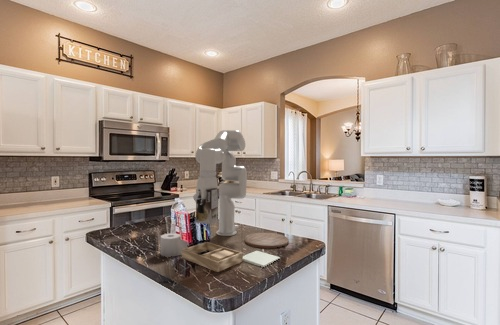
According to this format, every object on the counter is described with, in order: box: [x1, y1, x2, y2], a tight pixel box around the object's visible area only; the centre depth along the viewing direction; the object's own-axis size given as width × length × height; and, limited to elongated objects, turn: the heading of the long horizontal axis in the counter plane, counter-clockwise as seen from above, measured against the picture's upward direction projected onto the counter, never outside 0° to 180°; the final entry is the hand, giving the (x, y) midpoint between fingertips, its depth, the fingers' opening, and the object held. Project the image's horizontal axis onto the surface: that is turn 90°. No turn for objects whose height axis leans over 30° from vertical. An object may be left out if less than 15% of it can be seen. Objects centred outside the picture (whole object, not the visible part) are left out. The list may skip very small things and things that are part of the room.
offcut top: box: [210, 250, 235, 261], centre depth 121 cm, size 9×6×2 cm
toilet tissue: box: [159, 232, 189, 258], centre depth 134 cm, size 9×13×9 cm
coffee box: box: [195, 188, 219, 225], centre depth 128 cm, size 9×6×16 cm
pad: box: [242, 250, 281, 268], centre depth 127 cm, size 13×14×1 cm
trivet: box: [244, 232, 290, 249], centre depth 155 cm, size 25×25×2 cm
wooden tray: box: [181, 241, 244, 273], centre depth 125 cm, size 16×24×4 cm, turn 51°
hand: (207, 211), depth 129 cm, fingers closed on coffee box, 7 cm apart
